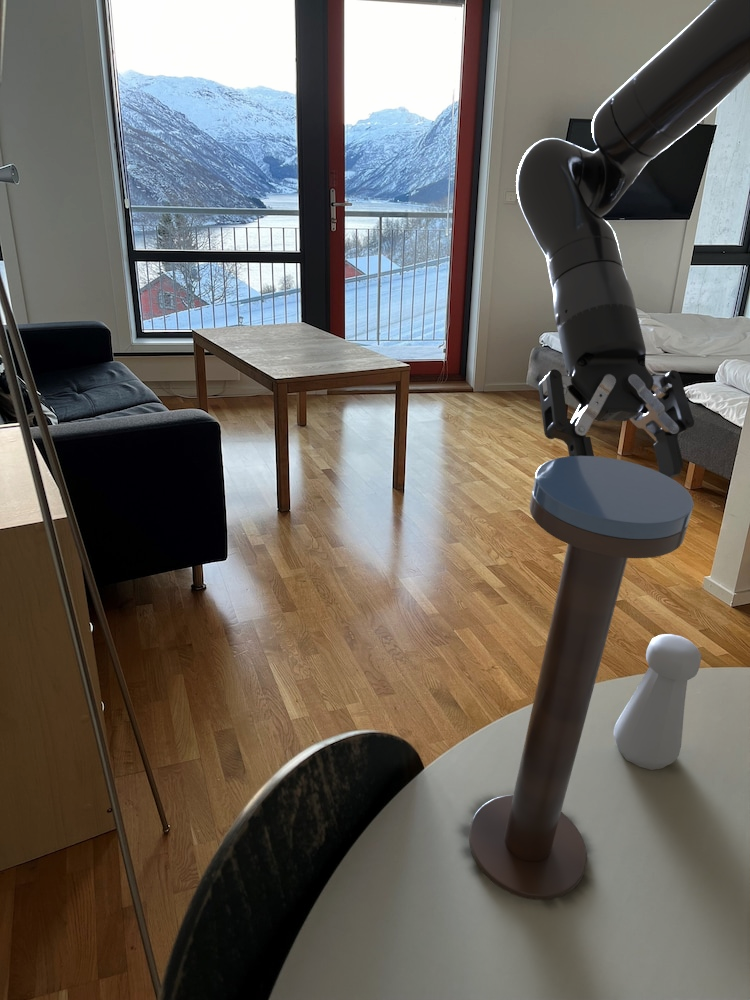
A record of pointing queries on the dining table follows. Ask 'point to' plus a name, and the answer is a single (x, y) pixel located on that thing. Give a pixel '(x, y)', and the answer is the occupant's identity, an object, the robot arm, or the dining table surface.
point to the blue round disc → (613, 497)
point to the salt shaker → (658, 704)
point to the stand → (558, 719)
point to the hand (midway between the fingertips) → (630, 478)
